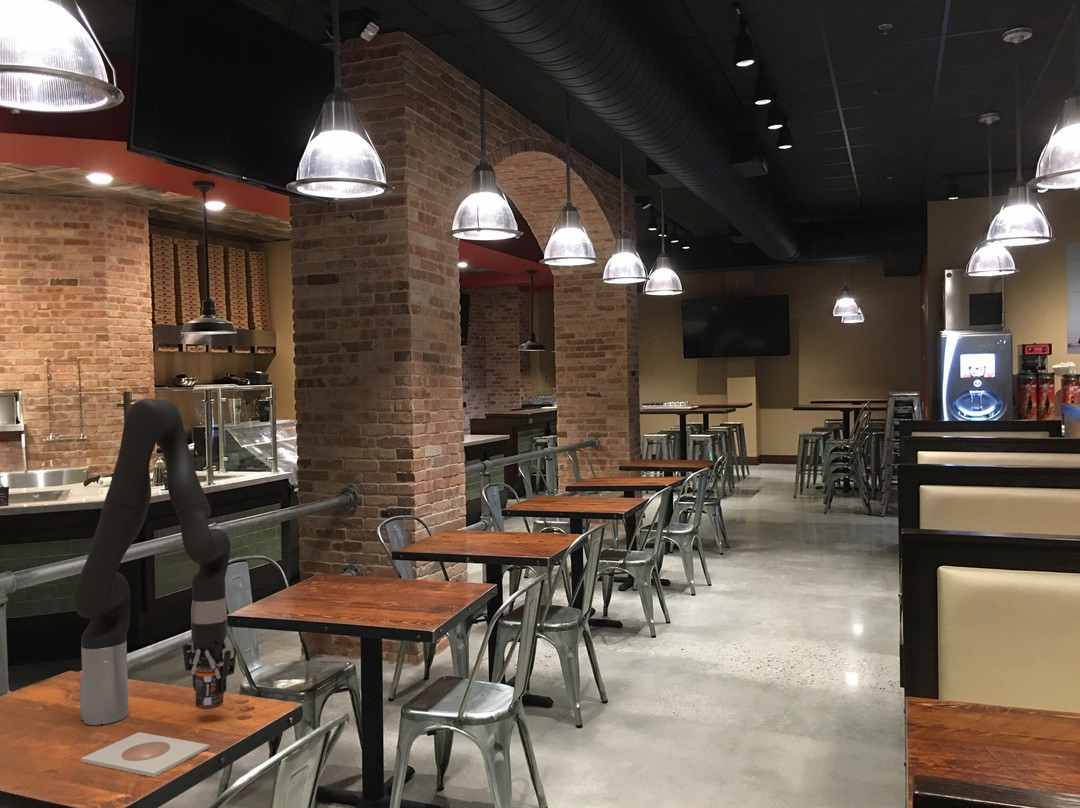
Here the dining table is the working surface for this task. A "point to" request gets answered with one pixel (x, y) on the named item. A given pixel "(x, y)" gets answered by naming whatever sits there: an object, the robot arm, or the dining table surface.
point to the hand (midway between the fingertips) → (209, 691)
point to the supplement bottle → (207, 686)
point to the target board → (145, 754)
